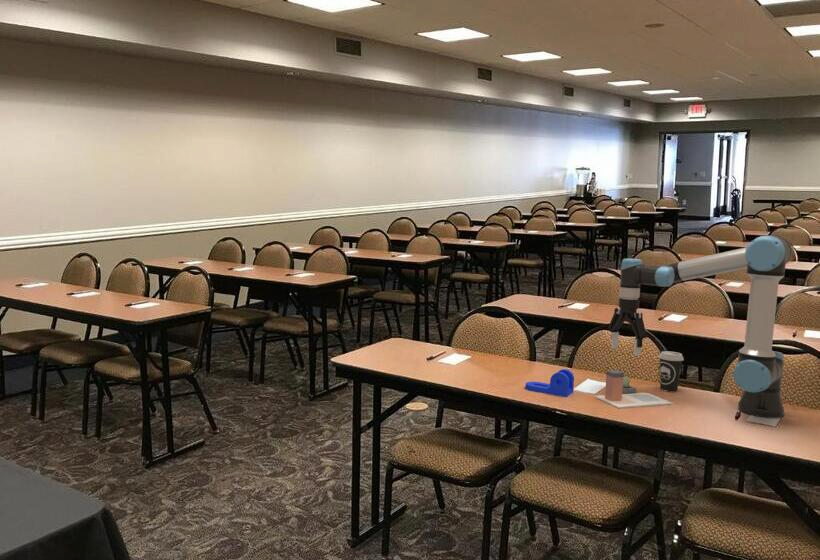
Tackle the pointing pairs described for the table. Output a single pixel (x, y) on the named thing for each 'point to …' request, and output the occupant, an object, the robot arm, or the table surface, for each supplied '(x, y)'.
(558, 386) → the bracket
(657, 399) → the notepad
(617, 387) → the lidded container
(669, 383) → the coffee cup
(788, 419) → the table surface
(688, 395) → the table surface
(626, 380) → the button
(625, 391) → the button housing
